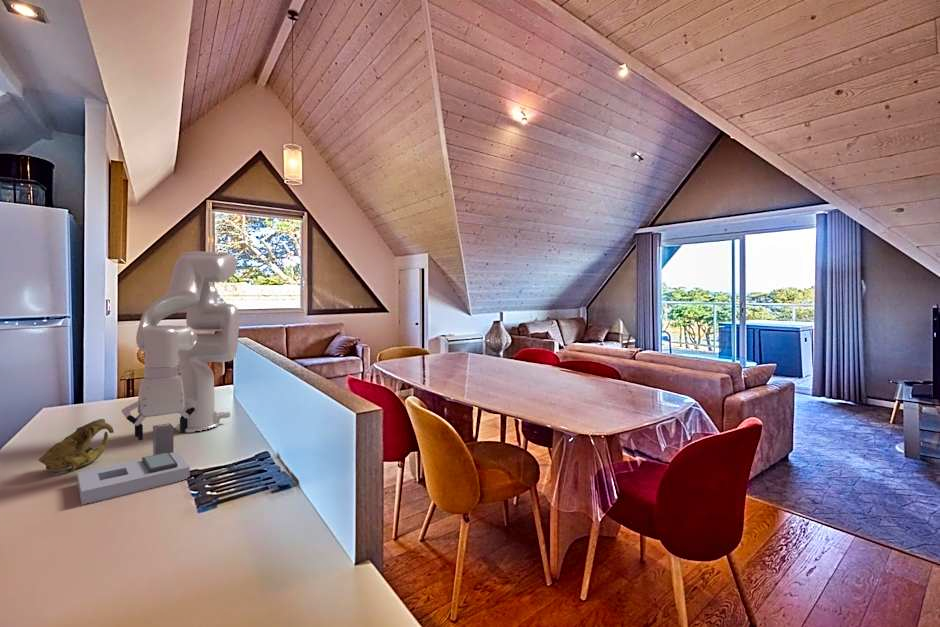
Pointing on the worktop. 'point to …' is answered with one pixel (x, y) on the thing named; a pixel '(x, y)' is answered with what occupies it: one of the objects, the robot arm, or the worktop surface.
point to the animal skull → (77, 447)
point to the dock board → (131, 476)
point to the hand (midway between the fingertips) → (161, 435)
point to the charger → (163, 439)
